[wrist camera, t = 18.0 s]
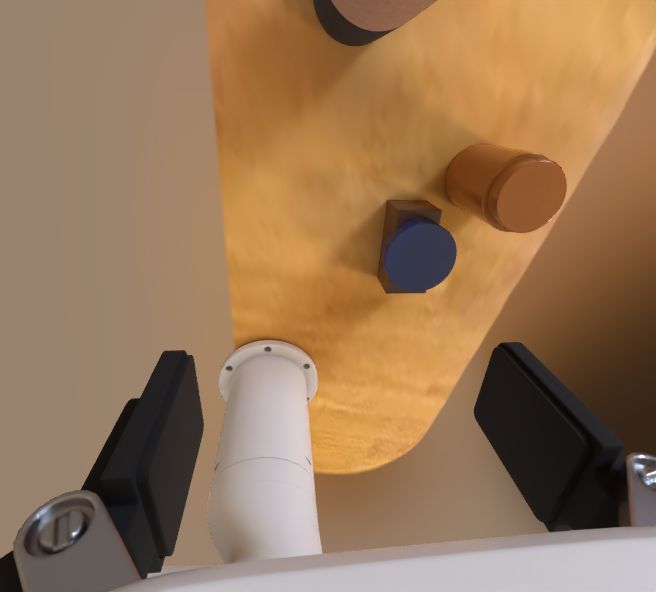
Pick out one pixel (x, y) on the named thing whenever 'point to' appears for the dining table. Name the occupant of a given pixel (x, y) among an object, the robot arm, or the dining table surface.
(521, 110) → the dining table surface
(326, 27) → the travel mug
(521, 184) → the jam jar
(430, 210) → the stand
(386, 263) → the jar lid
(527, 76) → the dining table surface
